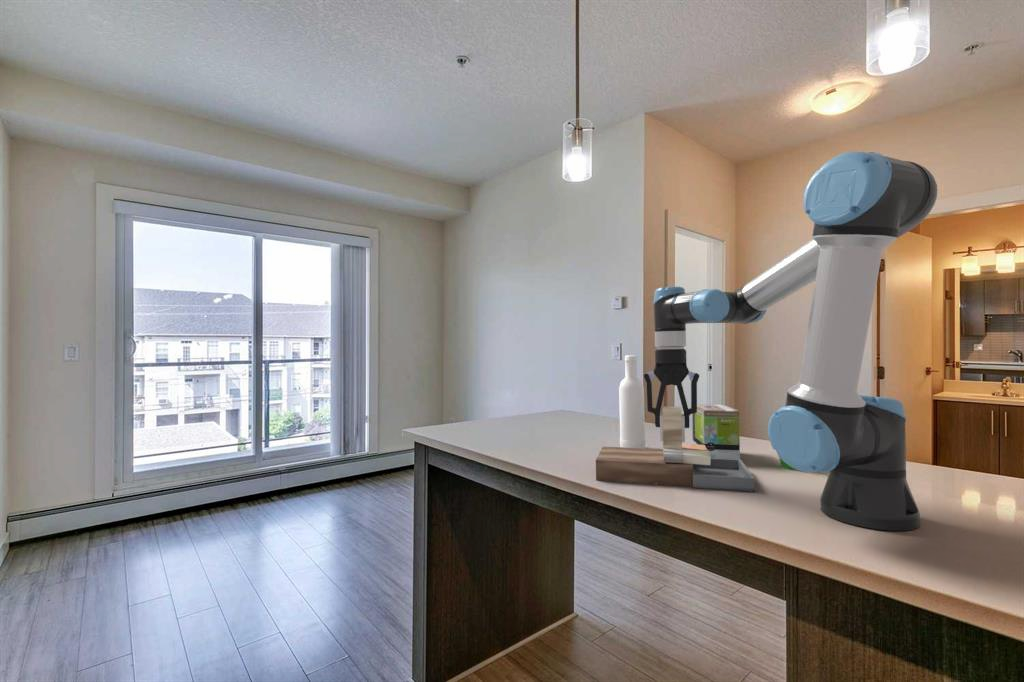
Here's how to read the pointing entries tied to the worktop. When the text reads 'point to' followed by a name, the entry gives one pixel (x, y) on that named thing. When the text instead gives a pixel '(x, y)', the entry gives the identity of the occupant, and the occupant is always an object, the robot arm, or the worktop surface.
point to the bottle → (631, 407)
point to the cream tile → (696, 457)
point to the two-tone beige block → (672, 435)
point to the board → (641, 467)
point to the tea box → (717, 430)
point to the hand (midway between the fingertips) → (672, 440)
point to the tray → (723, 475)
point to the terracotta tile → (694, 447)
